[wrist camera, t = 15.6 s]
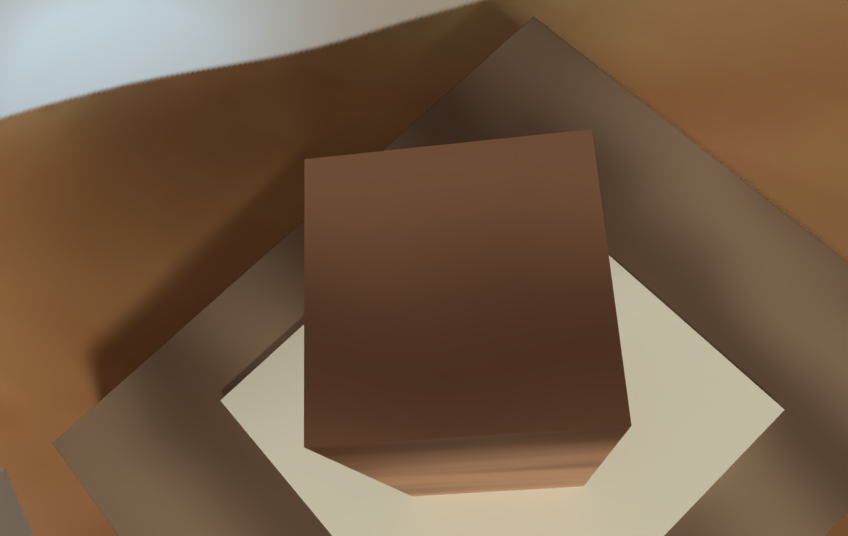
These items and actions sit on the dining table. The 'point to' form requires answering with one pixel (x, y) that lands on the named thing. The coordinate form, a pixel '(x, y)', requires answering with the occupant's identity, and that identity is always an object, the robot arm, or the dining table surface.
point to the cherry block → (462, 316)
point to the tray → (640, 344)
